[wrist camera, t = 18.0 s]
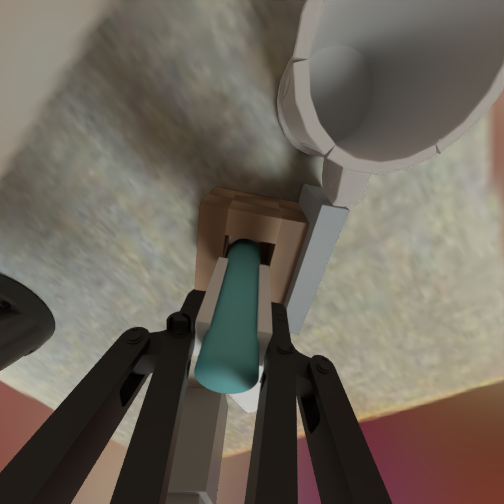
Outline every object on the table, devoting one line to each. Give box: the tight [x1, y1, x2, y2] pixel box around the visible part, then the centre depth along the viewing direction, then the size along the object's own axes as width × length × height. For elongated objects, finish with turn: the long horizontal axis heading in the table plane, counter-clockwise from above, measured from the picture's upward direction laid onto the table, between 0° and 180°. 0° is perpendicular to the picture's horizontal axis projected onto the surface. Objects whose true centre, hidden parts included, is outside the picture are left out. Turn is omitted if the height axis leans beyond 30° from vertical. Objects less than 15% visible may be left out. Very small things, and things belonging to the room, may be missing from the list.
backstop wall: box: [284, 184, 349, 334], centre depth 22 cm, size 2×13×8 cm, turn 170°
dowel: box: [194, 238, 261, 394], centre depth 15 cm, size 3×3×12 cm
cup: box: [277, 0, 504, 207], centre depth 14 cm, size 10×9×12 cm
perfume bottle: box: [165, 387, 228, 504], centre depth 34 cm, size 7×7×18 cm
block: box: [194, 187, 310, 305], centre depth 22 cm, size 9×9×6 cm
